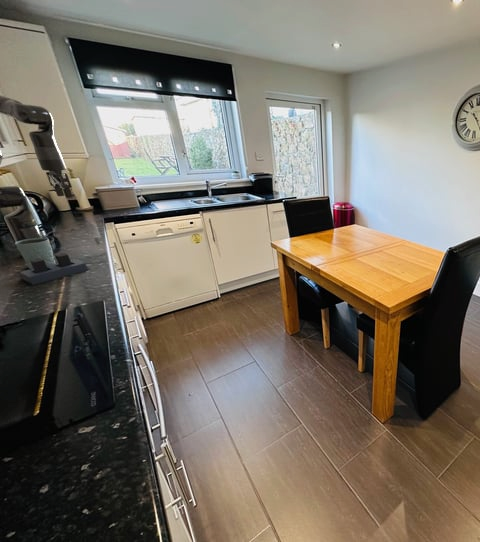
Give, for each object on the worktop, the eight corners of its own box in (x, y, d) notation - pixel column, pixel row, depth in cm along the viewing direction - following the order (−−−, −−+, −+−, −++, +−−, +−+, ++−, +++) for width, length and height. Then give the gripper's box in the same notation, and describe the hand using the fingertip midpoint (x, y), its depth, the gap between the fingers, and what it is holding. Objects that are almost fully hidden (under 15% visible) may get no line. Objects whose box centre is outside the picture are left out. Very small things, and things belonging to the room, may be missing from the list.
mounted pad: (38, 278, 118) (29, 260, 115) (48, 275, 120) (39, 258, 117) (42, 280, 116) (33, 262, 113) (52, 277, 119) (43, 260, 116)
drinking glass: (21, 268, 127) (8, 242, 122) (48, 260, 136) (38, 236, 131) (37, 270, 124) (25, 245, 120) (64, 262, 133) (54, 238, 129)
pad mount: (23, 279, 116) (19, 271, 115) (77, 265, 131) (74, 258, 129) (33, 285, 112) (29, 277, 111) (88, 270, 127) (85, 262, 125)
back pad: (62, 271, 124) (54, 255, 121) (70, 269, 127) (63, 253, 123) (66, 273, 122) (58, 256, 119) (75, 271, 125) (67, 254, 122)
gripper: (69, 158, 120) (83, 197, 127) (54, 157, 126) (69, 194, 133) (45, 159, 114) (61, 199, 121) (31, 157, 120) (47, 196, 127)
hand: (65, 196), depth 127 cm, fingers open, 8 cm apart
